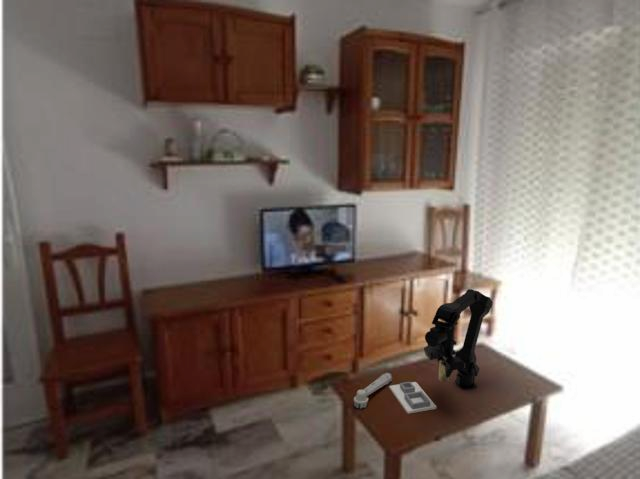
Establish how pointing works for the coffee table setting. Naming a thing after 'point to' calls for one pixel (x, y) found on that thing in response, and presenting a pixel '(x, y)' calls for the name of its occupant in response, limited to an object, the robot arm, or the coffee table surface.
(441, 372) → the gold metallic cylinder
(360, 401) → the white handheld shower head
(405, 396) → the white socket board
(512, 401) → the coffee table surface
